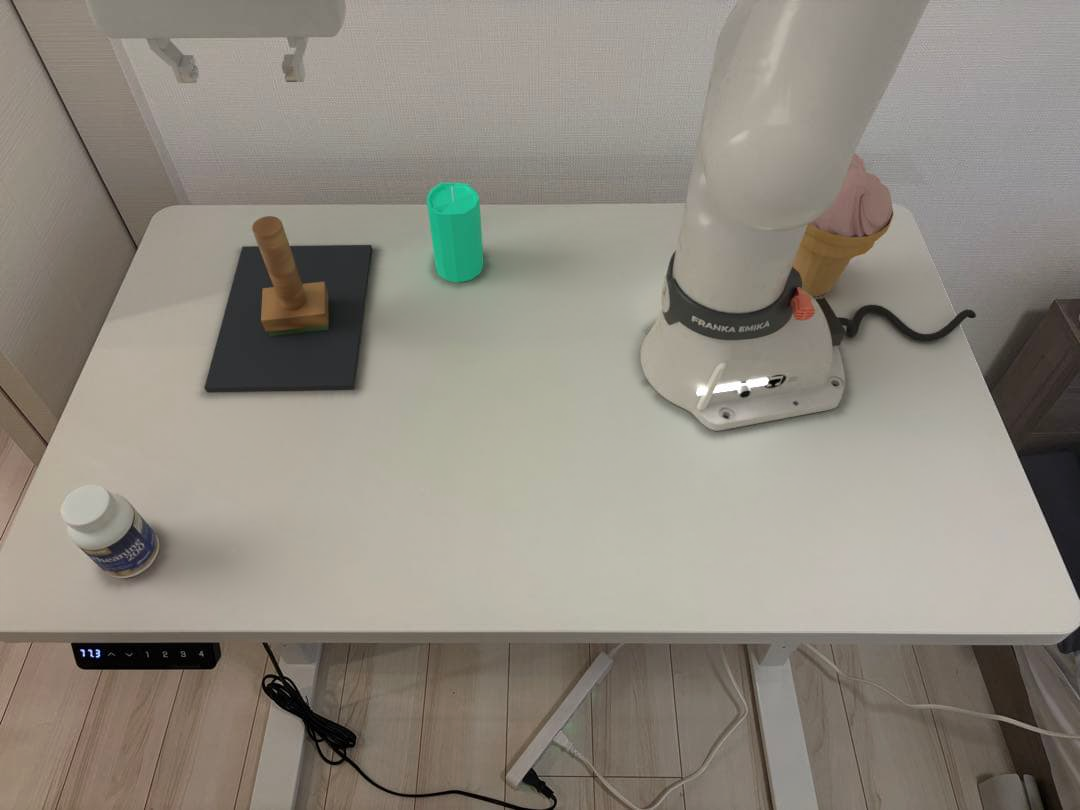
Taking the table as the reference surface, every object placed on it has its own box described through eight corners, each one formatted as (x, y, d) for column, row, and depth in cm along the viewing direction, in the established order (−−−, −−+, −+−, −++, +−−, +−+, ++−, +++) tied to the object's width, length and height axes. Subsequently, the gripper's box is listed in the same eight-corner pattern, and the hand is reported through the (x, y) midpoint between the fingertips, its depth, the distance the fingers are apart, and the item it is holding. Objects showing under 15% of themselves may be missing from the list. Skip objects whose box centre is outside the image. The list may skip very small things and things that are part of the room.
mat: (372, 249, 100) (371, 244, 99) (353, 389, 87) (352, 385, 86) (244, 251, 99) (242, 246, 99) (206, 392, 87) (204, 387, 86)
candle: (482, 282, 96) (477, 205, 87) (432, 282, 96) (422, 204, 87) (484, 248, 100) (480, 170, 90) (437, 247, 100) (427, 169, 90)
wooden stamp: (329, 299, 94) (302, 206, 82) (330, 330, 91) (302, 239, 79) (269, 305, 93) (233, 213, 81) (268, 338, 90) (230, 246, 79)
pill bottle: (107, 589, 73) (56, 543, 65) (97, 542, 76) (46, 492, 68) (166, 564, 75) (123, 516, 67) (154, 519, 78) (112, 467, 70)
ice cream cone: (775, 317, 94) (827, 180, 77) (757, 252, 100) (802, 113, 84) (866, 315, 94) (937, 178, 78) (842, 251, 100) (903, 112, 84)
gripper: (33, -70, 57) (114, 101, 69) (318, -72, 58) (352, 98, 69) (61, -109, 61) (134, 60, 72) (328, -109, 61) (360, 58, 73)
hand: (242, 79), depth 71 cm, fingers open, 8 cm apart
